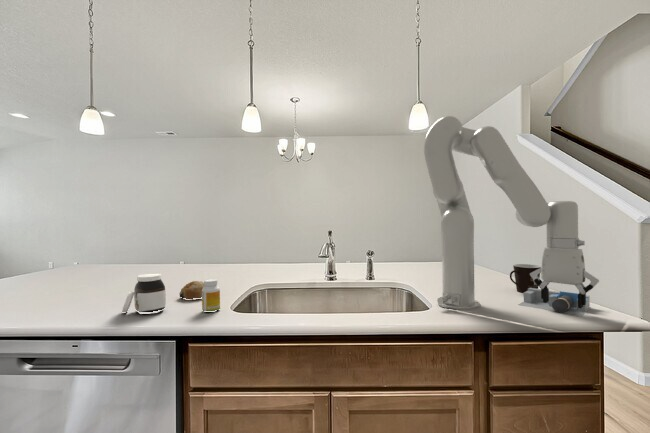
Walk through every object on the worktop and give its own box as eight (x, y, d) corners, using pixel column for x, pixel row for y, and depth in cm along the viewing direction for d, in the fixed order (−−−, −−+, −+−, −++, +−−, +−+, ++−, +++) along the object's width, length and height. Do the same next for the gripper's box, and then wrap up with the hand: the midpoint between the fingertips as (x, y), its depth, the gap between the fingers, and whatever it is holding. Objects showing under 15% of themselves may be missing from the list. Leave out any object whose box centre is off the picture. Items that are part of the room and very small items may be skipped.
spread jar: (169, 312, 108) (168, 275, 108) (130, 320, 99) (129, 280, 99) (154, 305, 116) (153, 271, 116) (116, 313, 108) (115, 276, 107)
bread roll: (198, 311, 121) (208, 290, 121) (172, 299, 121) (181, 278, 121) (208, 304, 131) (217, 285, 131) (184, 292, 131) (192, 273, 131)
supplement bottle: (223, 309, 110) (223, 279, 109) (211, 314, 105) (211, 282, 105) (210, 307, 112) (210, 278, 112) (198, 312, 107) (197, 281, 107)
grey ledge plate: (582, 317, 95) (581, 300, 95) (517, 306, 107) (517, 291, 107) (591, 309, 103) (590, 293, 103) (530, 299, 115) (530, 285, 115)
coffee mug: (533, 290, 128) (533, 264, 128) (546, 296, 120) (545, 267, 119) (501, 290, 129) (500, 264, 129) (511, 296, 121) (510, 267, 121)
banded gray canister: (569, 311, 97) (563, 298, 97) (554, 313, 99) (549, 301, 100) (575, 306, 102) (570, 294, 103) (562, 308, 105) (557, 296, 105)
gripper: (602, 244, 95) (603, 307, 95) (532, 241, 108) (533, 297, 108) (597, 246, 90) (598, 313, 90) (524, 243, 103) (525, 301, 103)
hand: (562, 304), depth 99 cm, fingers open, 8 cm apart
